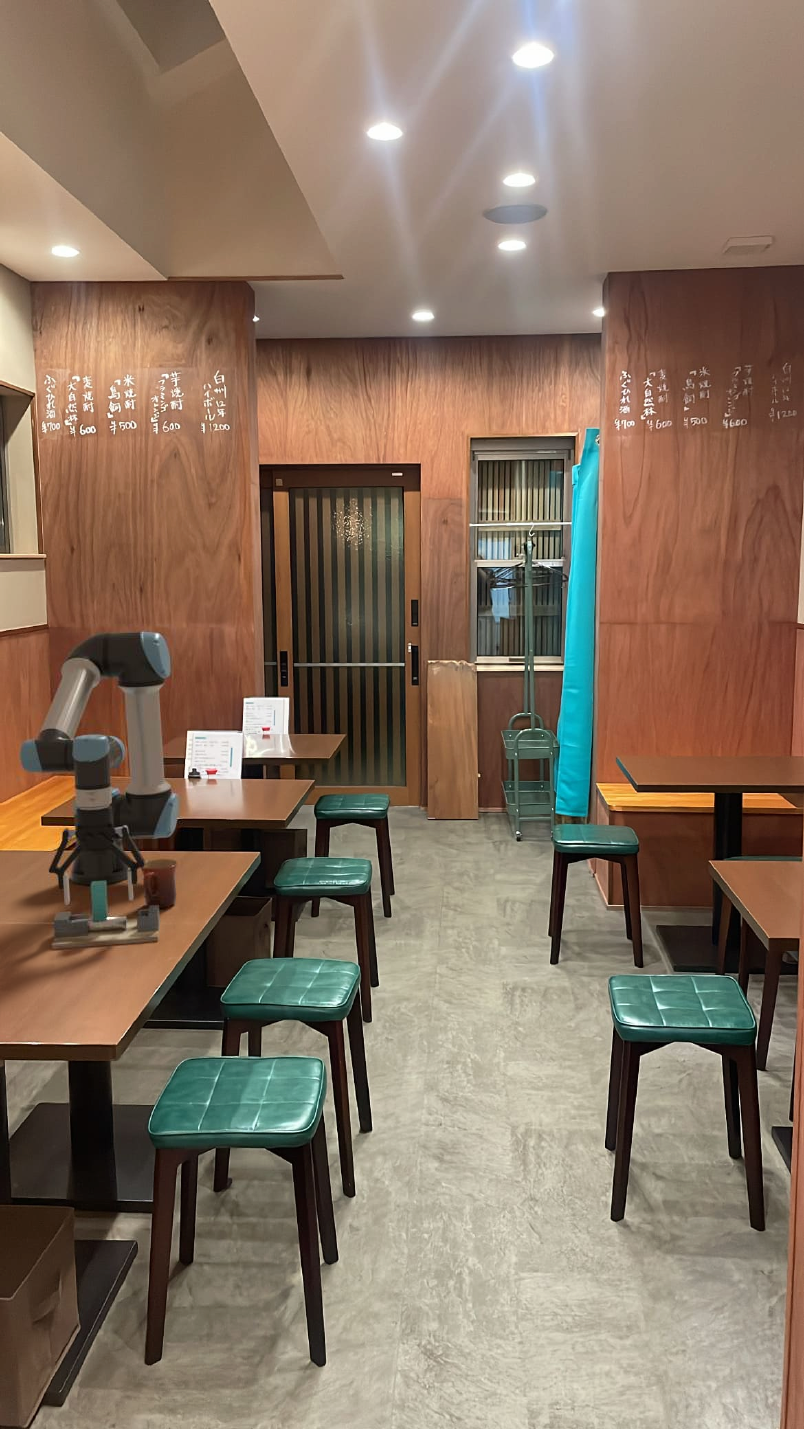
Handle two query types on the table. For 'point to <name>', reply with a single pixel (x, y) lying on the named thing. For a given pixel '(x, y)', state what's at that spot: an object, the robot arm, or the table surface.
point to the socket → (148, 919)
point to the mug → (160, 882)
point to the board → (108, 937)
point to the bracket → (70, 925)
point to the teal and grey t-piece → (102, 911)
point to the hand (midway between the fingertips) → (99, 900)
